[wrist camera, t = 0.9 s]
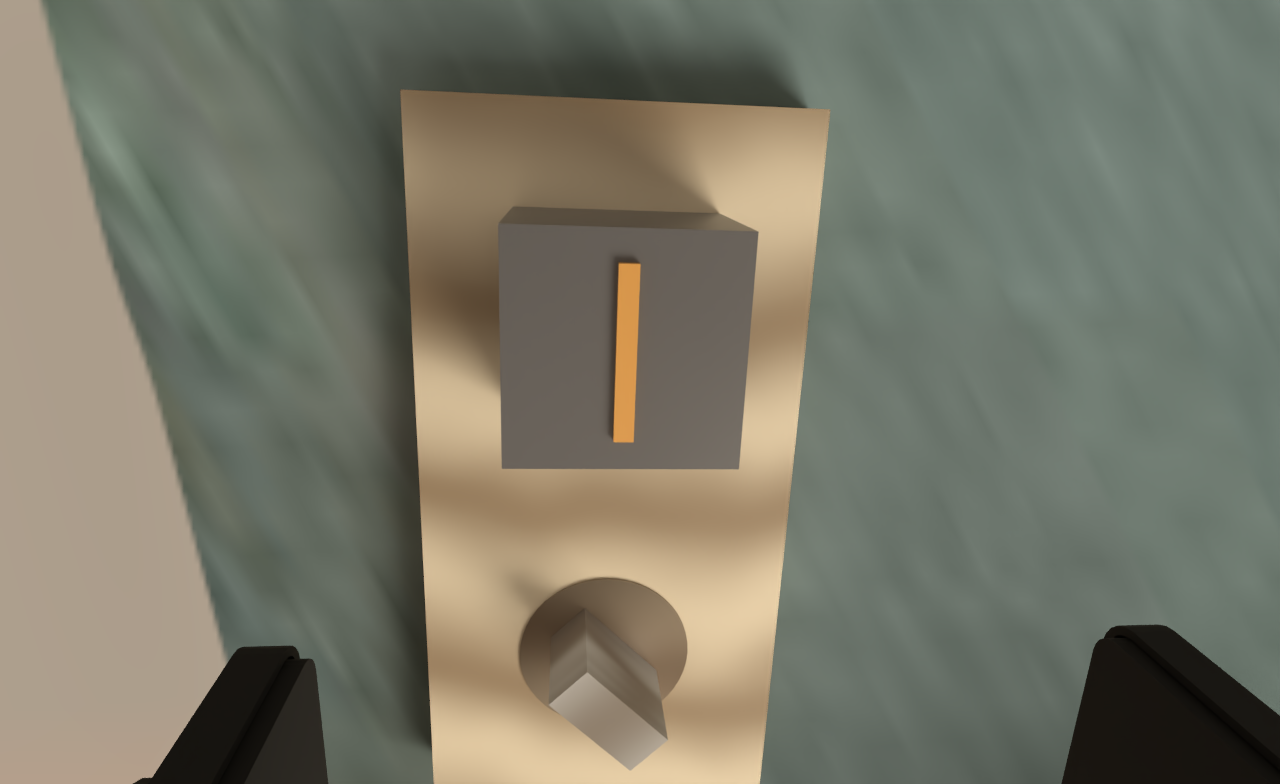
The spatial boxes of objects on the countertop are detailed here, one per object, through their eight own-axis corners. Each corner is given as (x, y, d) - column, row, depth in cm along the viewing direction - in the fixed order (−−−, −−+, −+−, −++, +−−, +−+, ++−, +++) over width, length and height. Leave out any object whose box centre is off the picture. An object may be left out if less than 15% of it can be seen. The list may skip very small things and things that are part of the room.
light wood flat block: (413, 93, 23) (368, 79, 18) (809, 112, 24) (875, 103, 19) (443, 755, 30) (416, 883, 25) (747, 746, 32) (783, 866, 26)
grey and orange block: (513, 206, 23) (497, 224, 18) (719, 213, 23) (760, 232, 18) (514, 405, 24) (500, 472, 19) (706, 407, 25) (740, 472, 20)
